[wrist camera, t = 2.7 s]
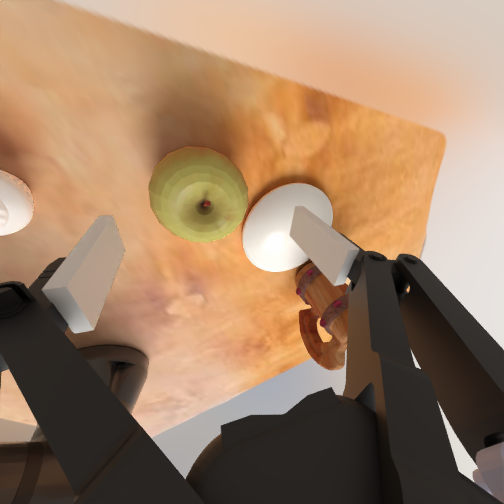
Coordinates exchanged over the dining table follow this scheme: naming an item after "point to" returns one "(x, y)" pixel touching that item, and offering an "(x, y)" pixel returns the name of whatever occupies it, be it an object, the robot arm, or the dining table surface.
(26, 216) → the white rounded piece
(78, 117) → the dining table surface
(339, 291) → the mug
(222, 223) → the apple
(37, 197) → the dining table surface
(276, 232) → the plate
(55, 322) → the robot arm
